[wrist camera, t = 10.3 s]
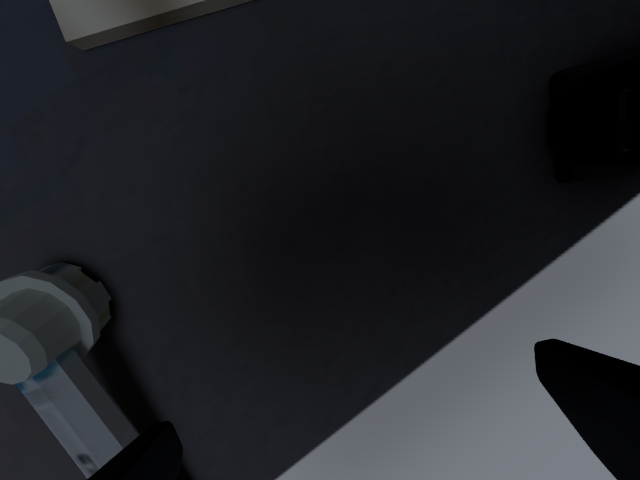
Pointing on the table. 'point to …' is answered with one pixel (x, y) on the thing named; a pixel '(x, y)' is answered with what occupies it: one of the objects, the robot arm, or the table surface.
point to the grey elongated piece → (62, 359)
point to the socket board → (125, 17)
